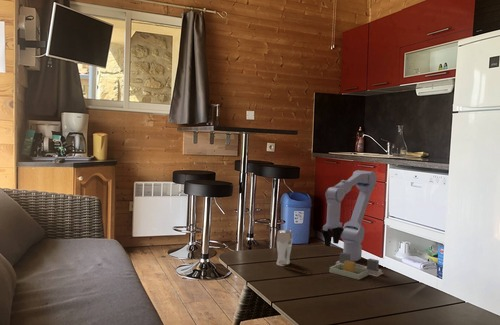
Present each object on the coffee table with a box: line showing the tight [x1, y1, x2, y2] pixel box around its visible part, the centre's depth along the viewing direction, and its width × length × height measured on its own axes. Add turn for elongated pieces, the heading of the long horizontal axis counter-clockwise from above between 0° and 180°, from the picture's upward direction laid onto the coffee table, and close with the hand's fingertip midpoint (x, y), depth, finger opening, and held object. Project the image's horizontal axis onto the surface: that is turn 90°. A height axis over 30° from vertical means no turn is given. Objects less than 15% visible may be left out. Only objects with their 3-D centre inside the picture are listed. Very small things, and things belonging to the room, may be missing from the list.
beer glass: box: [275, 229, 293, 267], centre depth 185 cm, size 7×7×15 cm
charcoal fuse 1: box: [338, 251, 350, 263], centre depth 185 cm, size 2×4×6 cm, turn 50°
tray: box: [328, 263, 369, 280], centre depth 174 cm, size 9×13×3 cm
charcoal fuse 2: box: [366, 258, 380, 271], centre depth 176 cm, size 2×4×6 cm, turn 51°
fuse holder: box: [335, 260, 384, 277], centre depth 181 cm, size 7×20×2 cm, turn 51°
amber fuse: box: [342, 260, 356, 273], centre depth 173 cm, size 2×4×6 cm, turn 51°
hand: (331, 244), depth 186 cm, fingers open, 7 cm apart
